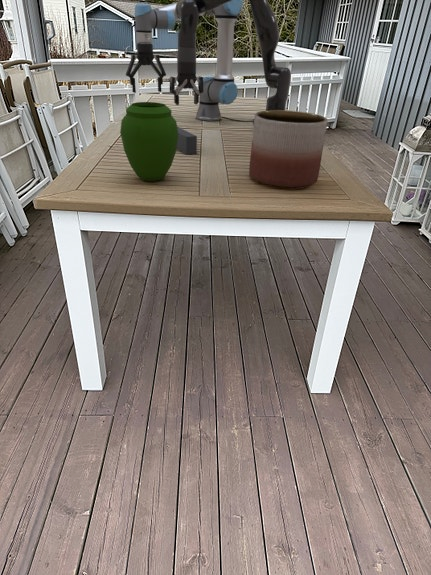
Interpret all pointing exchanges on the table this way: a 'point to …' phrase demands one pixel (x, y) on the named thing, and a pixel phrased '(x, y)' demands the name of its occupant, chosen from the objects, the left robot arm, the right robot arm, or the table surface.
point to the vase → (149, 139)
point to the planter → (287, 148)
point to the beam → (186, 142)
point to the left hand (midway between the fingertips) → (147, 92)
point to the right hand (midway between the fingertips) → (186, 104)
